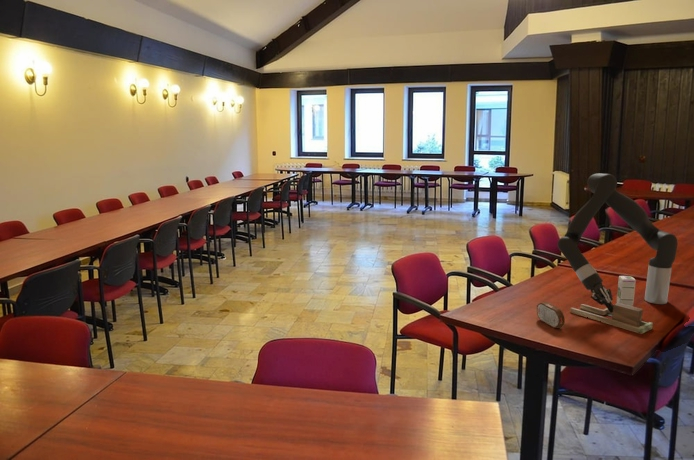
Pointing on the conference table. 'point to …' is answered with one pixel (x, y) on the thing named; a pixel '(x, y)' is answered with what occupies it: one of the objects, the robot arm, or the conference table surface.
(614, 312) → the block
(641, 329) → the lane
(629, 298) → the syrup box
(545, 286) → the conference table surface
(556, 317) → the tin
